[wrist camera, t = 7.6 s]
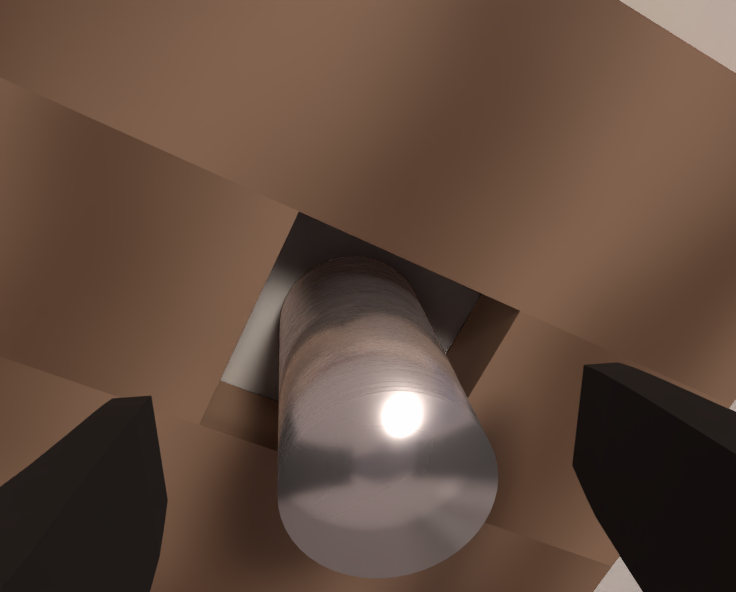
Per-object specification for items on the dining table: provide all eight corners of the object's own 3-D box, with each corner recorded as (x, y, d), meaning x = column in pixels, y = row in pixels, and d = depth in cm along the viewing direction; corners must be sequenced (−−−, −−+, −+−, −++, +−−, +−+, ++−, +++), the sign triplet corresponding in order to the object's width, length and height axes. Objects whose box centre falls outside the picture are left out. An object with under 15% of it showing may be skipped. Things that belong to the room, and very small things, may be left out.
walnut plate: (824, 158, 15) (900, 176, 13) (475, 657, 19) (495, 723, 18) (123, -269, 11) (90, -330, 9) (-116, 492, 15) (-171, 555, 13)
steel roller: (433, 267, 15) (523, 406, 9) (404, 392, 16) (469, 583, 10) (291, 246, 14) (295, 382, 9) (270, 377, 15) (263, 572, 10)
